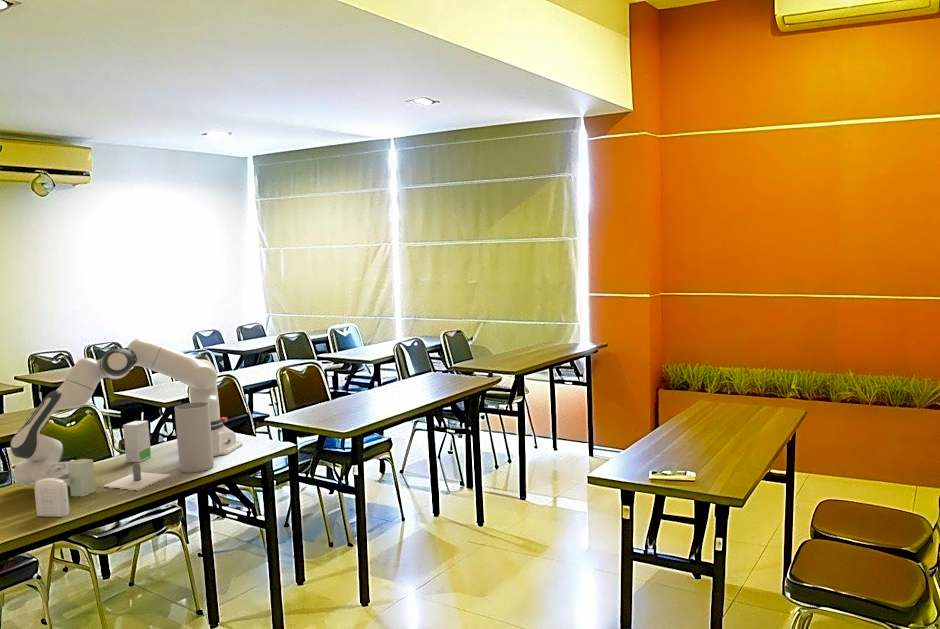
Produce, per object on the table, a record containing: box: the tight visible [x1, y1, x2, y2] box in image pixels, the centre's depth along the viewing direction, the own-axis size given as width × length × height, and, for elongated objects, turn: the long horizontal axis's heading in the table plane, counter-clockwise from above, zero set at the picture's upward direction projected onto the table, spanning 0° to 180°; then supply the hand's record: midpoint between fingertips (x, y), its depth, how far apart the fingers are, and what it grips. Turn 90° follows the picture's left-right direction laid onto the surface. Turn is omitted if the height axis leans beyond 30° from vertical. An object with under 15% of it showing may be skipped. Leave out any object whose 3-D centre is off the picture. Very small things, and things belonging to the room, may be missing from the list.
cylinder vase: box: [174, 402, 215, 474], centre depth 283 cm, size 12×12×25 cm
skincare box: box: [122, 420, 152, 463], centre depth 299 cm, size 8×7×16 cm
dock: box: [103, 462, 171, 492], centre depth 270 cm, size 16×16×7 cm
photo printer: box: [33, 478, 70, 518], centre depth 238 cm, size 10×4×12 cm, turn 81°
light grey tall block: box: [68, 458, 97, 498], centre depth 259 cm, size 6×6×12 cm
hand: (81, 477), depth 259 cm, fingers open, 8 cm apart
